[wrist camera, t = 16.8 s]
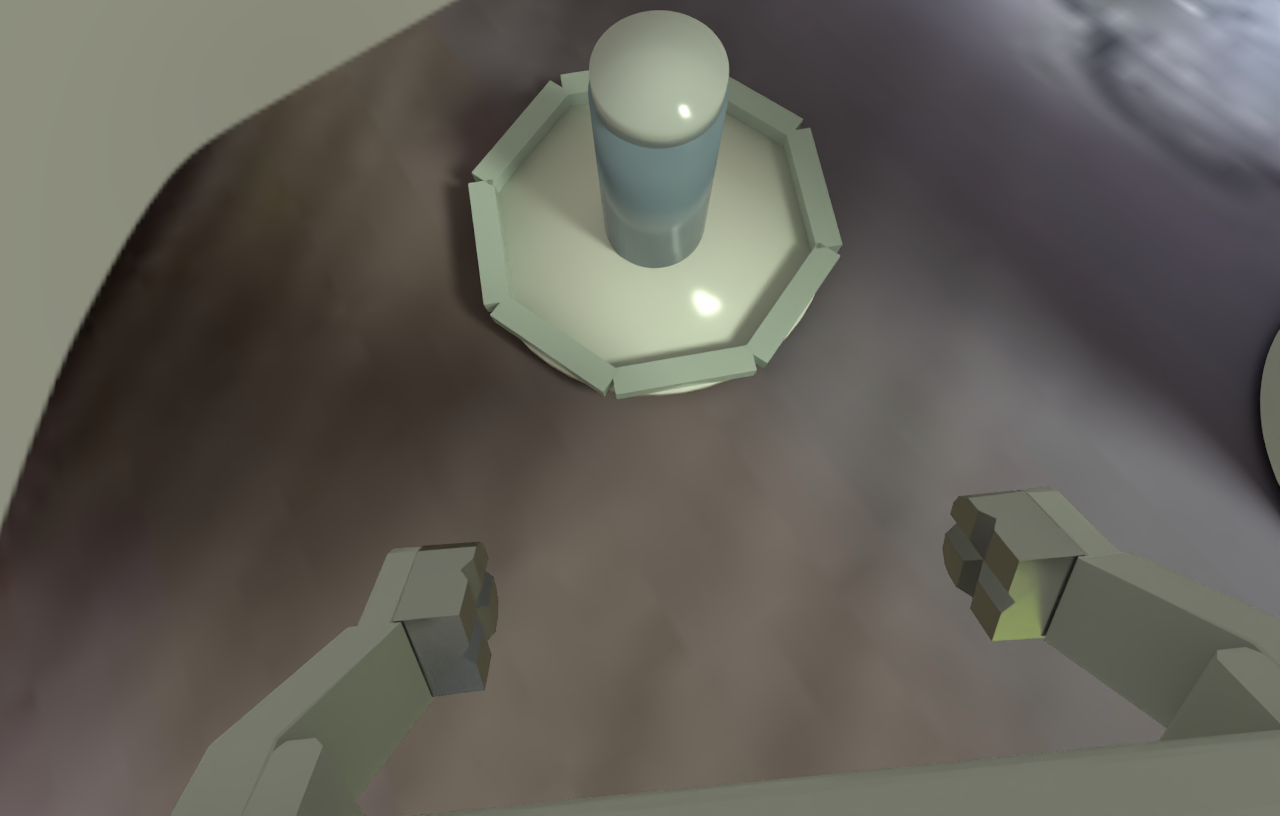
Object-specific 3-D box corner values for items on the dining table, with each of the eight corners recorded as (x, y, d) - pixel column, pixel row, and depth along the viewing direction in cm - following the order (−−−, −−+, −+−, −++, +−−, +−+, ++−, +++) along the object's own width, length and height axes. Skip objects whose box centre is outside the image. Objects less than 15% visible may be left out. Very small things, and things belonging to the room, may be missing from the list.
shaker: (694, 169, 25) (716, -3, 17) (714, 259, 24) (747, 119, 16) (597, 186, 25) (574, 19, 17) (613, 275, 24) (598, 143, 16)
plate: (779, 68, 27) (787, 36, 25) (859, 365, 24) (874, 352, 22) (465, 117, 27) (453, 89, 25) (506, 427, 24) (495, 418, 22)
